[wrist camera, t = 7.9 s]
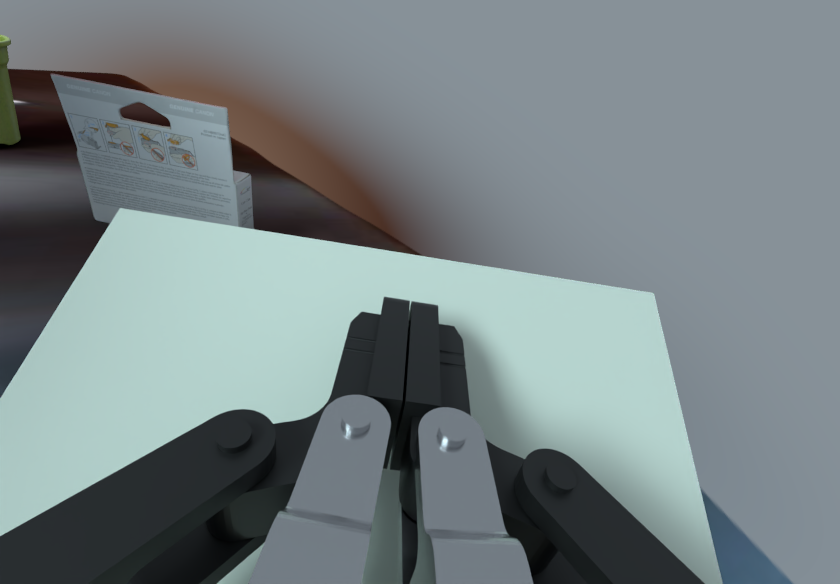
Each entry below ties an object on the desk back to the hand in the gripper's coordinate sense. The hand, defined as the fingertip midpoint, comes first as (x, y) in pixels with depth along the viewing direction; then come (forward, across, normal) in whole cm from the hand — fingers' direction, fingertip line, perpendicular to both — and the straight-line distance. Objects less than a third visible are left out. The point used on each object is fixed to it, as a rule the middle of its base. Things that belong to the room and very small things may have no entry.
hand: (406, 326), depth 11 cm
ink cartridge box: (+19, -17, -9) cm, 27 cm away
